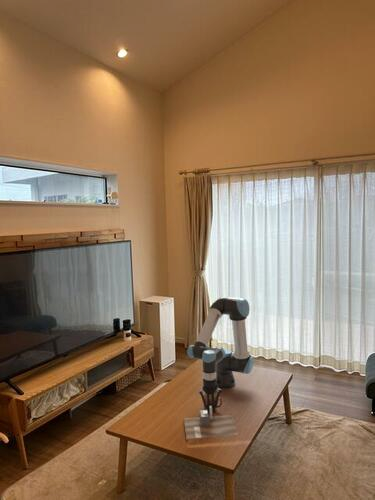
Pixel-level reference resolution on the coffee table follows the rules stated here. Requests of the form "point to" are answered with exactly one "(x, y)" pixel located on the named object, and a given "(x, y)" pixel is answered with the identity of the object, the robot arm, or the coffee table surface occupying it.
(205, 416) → the block
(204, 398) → the mug
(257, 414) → the coffee table surface
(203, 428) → the board
